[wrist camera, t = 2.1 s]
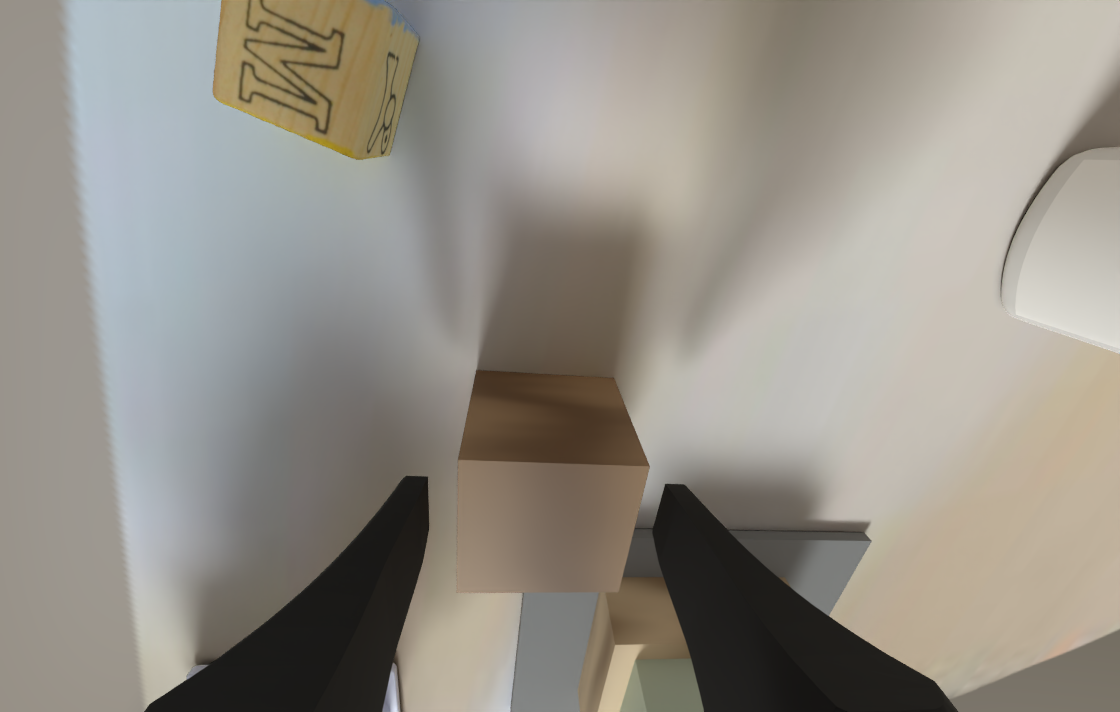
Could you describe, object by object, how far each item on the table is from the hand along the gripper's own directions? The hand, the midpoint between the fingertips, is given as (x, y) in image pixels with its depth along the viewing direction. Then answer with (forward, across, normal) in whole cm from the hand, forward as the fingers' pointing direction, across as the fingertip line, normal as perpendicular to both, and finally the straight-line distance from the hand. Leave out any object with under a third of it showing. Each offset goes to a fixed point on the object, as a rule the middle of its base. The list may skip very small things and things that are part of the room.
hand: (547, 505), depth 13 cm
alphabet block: (+4, +6, -11) cm, 13 cm away
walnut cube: (+4, 0, 0) cm, 4 cm away
